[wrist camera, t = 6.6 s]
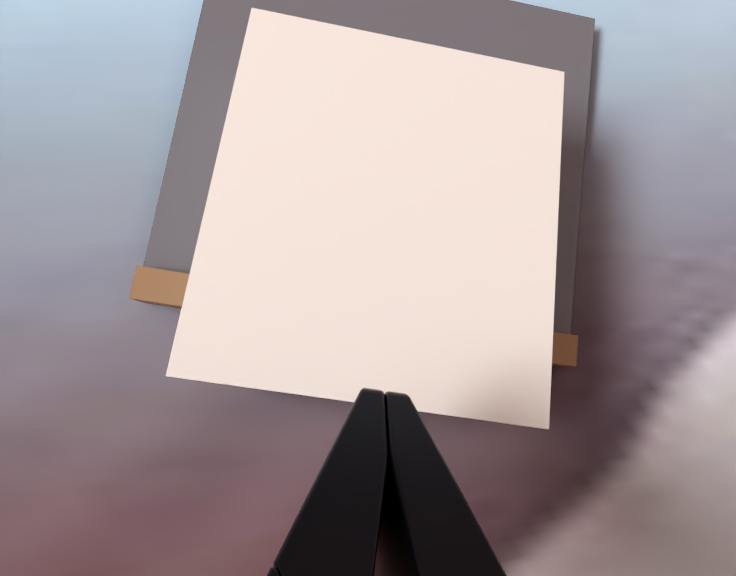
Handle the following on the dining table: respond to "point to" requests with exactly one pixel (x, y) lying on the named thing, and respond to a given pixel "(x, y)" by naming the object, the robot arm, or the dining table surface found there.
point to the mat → (388, 17)
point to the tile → (380, 225)
